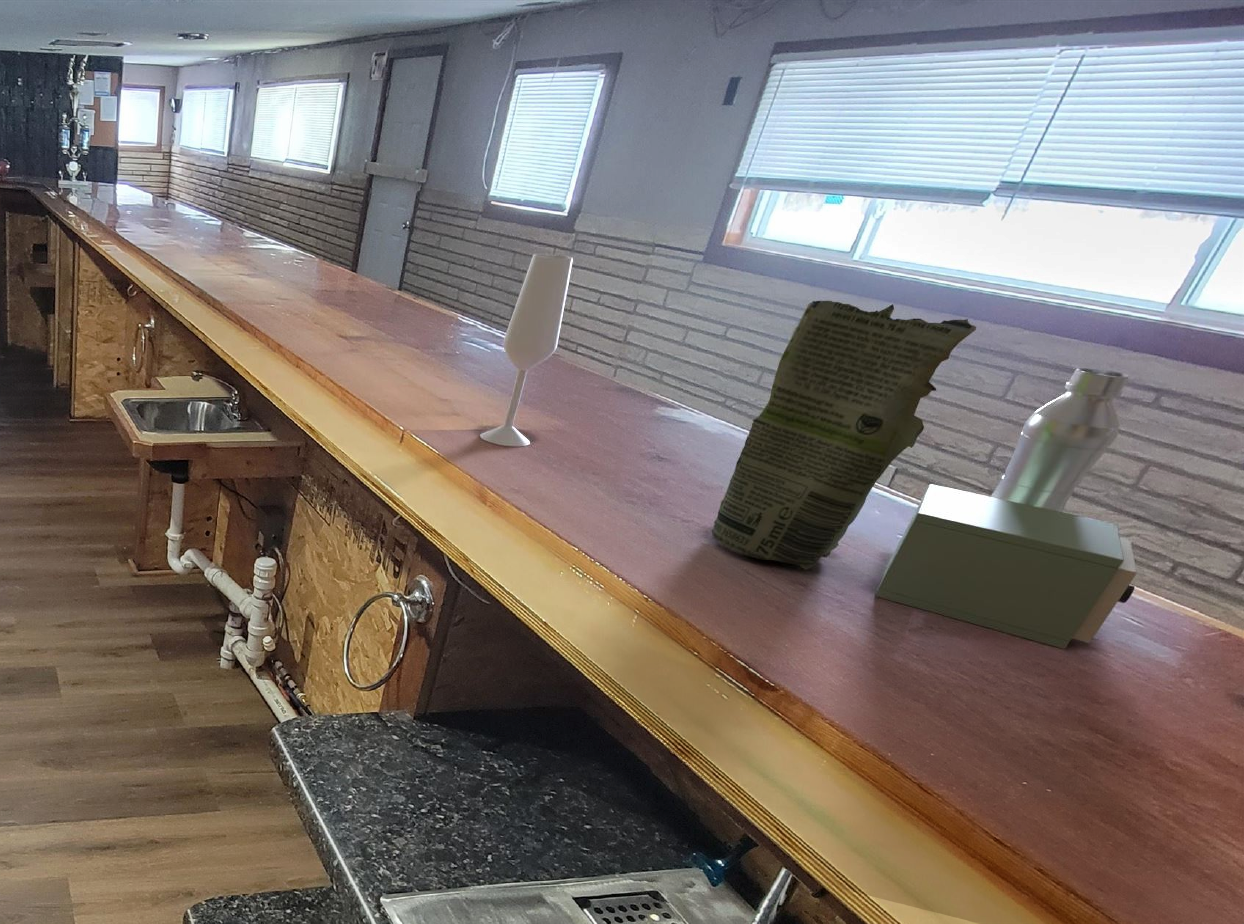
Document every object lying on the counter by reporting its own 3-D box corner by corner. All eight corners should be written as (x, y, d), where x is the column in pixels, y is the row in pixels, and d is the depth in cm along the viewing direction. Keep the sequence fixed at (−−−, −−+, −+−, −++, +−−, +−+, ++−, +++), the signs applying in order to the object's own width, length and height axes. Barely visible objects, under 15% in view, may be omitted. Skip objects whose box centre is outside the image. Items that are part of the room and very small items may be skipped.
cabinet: (1063, 607, 85) (1118, 523, 81) (1064, 649, 77) (1124, 560, 73) (889, 561, 93) (929, 483, 88) (874, 596, 85) (918, 512, 81)
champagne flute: (492, 429, 130) (537, 251, 118) (537, 440, 126) (589, 257, 114) (471, 437, 125) (516, 254, 113) (518, 449, 121) (569, 261, 109)
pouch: (701, 524, 100) (794, 289, 88) (824, 543, 96) (939, 301, 84) (720, 562, 91) (826, 306, 78) (857, 584, 87) (991, 320, 75)
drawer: (1104, 609, 83) (1149, 542, 79) (1108, 648, 76) (1157, 577, 73) (920, 562, 91) (954, 500, 87) (909, 594, 84) (945, 527, 80)
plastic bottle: (934, 550, 96) (1036, 362, 86) (1002, 556, 95) (1113, 367, 85) (975, 575, 90) (1090, 377, 81) (1048, 582, 90) (1173, 383, 80)
